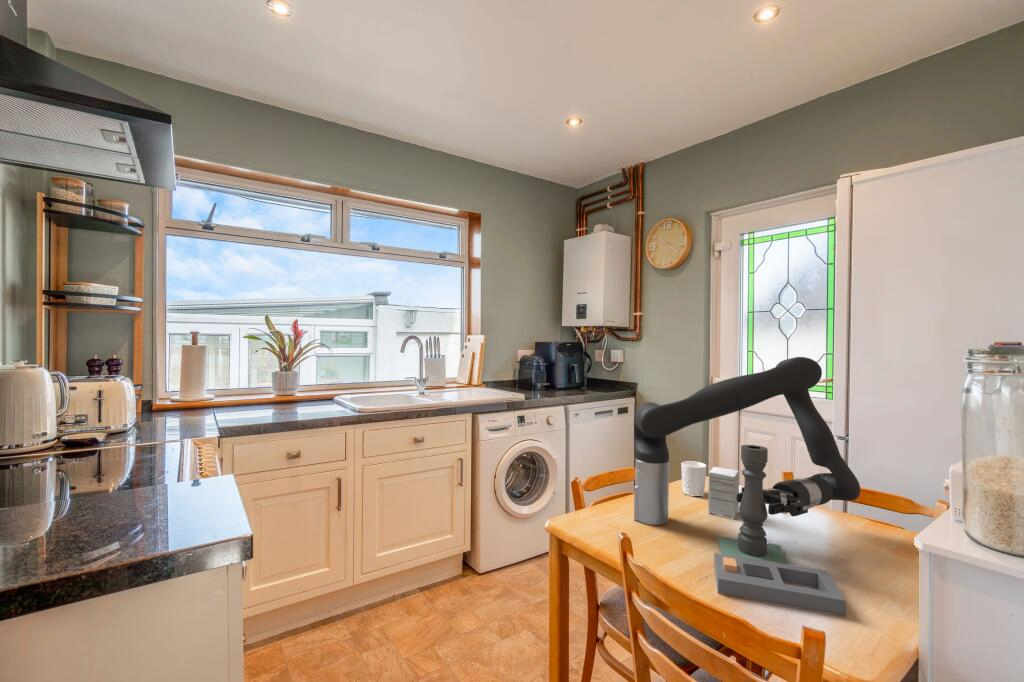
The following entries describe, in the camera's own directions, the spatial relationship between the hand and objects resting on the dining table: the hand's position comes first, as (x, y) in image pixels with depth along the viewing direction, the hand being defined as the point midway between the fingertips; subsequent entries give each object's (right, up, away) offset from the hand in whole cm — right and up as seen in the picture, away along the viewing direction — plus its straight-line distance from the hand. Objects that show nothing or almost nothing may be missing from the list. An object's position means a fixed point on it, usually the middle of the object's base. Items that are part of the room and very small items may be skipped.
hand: (753, 503), depth 110 cm
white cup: (+3, -12, +44) cm, 45 cm away
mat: (0, -12, 0) cm, 12 cm away
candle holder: (0, -12, 0) cm, 12 cm away
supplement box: (+5, -13, +27) cm, 30 cm away
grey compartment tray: (-4, -13, -15) cm, 20 cm away
